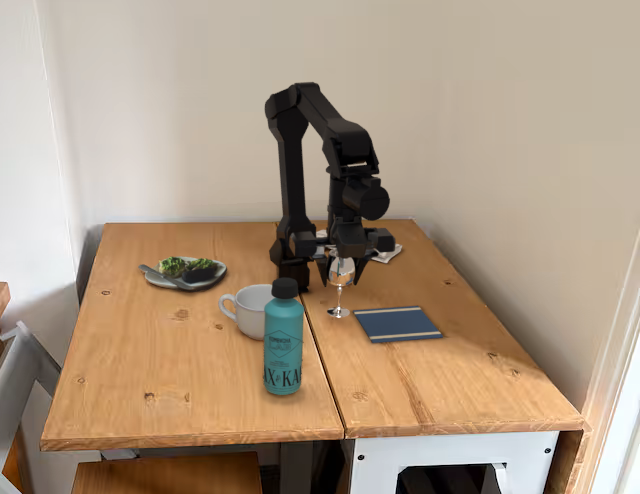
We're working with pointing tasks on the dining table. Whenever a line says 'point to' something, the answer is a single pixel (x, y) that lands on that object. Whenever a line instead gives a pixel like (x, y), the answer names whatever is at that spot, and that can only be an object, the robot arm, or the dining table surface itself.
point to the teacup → (249, 308)
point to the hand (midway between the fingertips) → (339, 285)
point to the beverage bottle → (283, 338)
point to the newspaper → (382, 256)
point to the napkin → (396, 324)
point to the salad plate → (185, 273)
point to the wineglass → (340, 278)
